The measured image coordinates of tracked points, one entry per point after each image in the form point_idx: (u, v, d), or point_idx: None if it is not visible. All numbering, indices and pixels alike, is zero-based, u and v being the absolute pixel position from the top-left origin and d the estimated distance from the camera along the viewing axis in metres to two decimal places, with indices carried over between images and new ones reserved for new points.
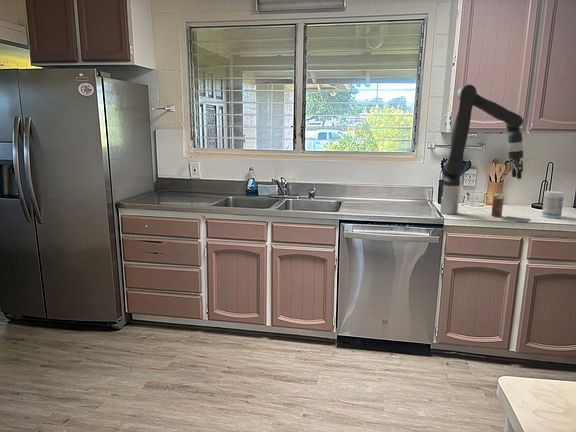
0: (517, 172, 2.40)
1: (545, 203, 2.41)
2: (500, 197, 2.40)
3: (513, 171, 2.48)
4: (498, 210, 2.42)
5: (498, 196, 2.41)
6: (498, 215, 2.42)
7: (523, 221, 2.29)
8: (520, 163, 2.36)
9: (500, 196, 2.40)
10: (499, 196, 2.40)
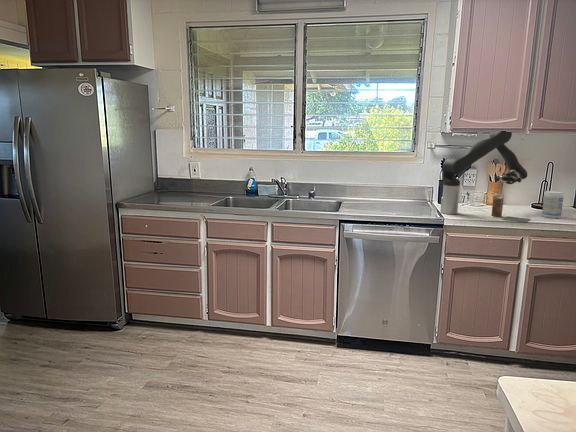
0: (514, 178, 2.49)
1: (545, 203, 2.41)
2: (500, 197, 2.40)
3: (499, 178, 2.54)
4: (498, 210, 2.42)
5: (498, 196, 2.41)
6: (498, 215, 2.42)
7: (523, 221, 2.29)
8: (521, 179, 2.51)
9: (500, 196, 2.40)
10: (499, 196, 2.40)
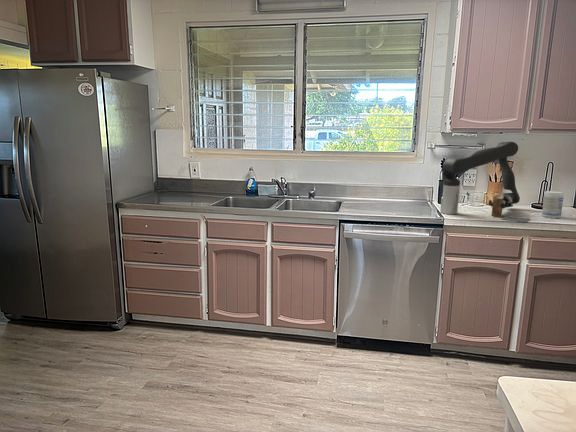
0: None
1: (545, 203, 2.41)
2: (500, 197, 2.40)
3: None
4: (498, 210, 2.42)
5: (498, 196, 2.40)
6: (498, 215, 2.42)
7: (523, 221, 2.29)
8: (512, 204, 2.44)
9: (500, 196, 2.40)
10: (499, 196, 2.40)
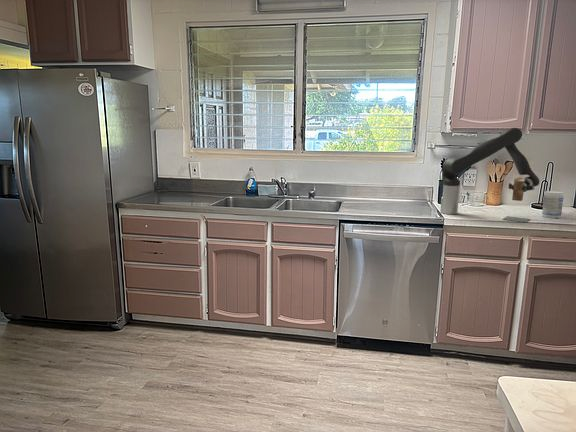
0: None
1: (545, 203, 2.41)
2: (522, 180, 2.32)
3: None
4: (519, 193, 2.33)
5: (519, 179, 2.32)
6: (519, 198, 2.34)
7: (523, 221, 2.29)
8: (533, 187, 2.36)
9: (522, 178, 2.32)
10: (520, 179, 2.32)
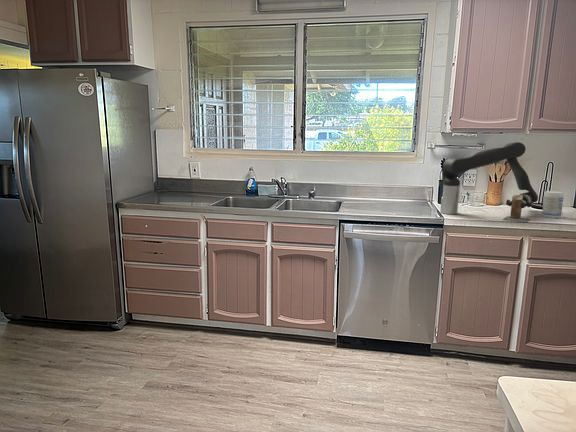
0: (523, 203, 2.36)
1: (545, 203, 2.41)
2: (519, 198, 2.34)
3: (511, 203, 2.40)
4: (517, 211, 2.35)
5: (517, 197, 2.34)
6: (517, 216, 2.36)
7: (523, 221, 2.29)
8: (532, 204, 2.38)
9: (519, 197, 2.33)
10: (518, 197, 2.34)
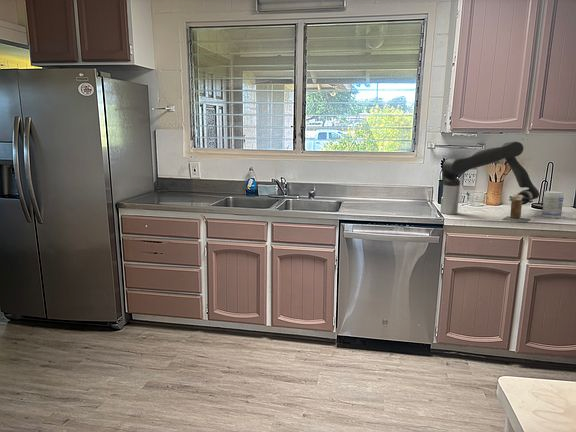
0: None
1: (545, 203, 2.41)
2: (519, 199, 2.32)
3: None
4: (517, 212, 2.35)
5: (517, 198, 2.33)
6: (517, 217, 2.36)
7: (523, 221, 2.29)
8: (531, 200, 2.40)
9: (519, 198, 2.32)
10: (518, 198, 2.33)
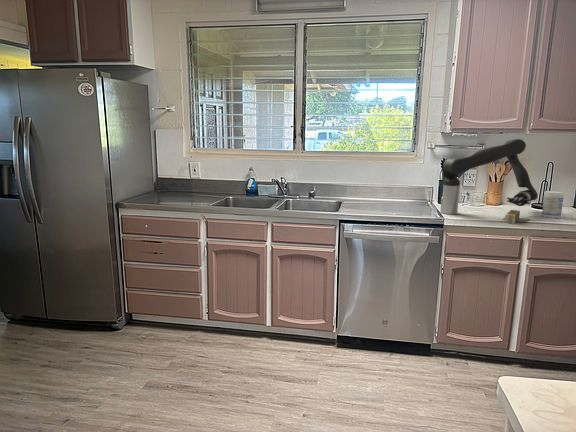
0: (517, 200, 2.36)
1: (545, 203, 2.41)
2: None
3: None
4: None
5: None
6: None
7: (523, 221, 2.29)
8: (529, 202, 2.36)
9: None
10: None
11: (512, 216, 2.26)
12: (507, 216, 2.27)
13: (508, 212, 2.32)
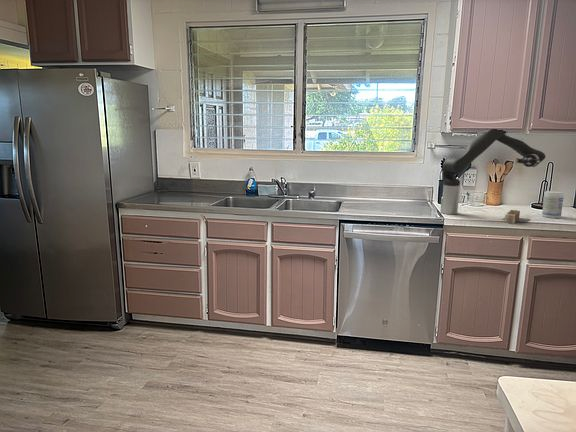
0: (526, 160, 2.41)
1: (545, 203, 2.41)
2: None
3: None
4: None
5: None
6: None
7: (523, 221, 2.29)
8: (537, 161, 2.41)
9: None
10: None
11: (512, 216, 2.26)
12: (507, 216, 2.27)
13: (508, 212, 2.32)
